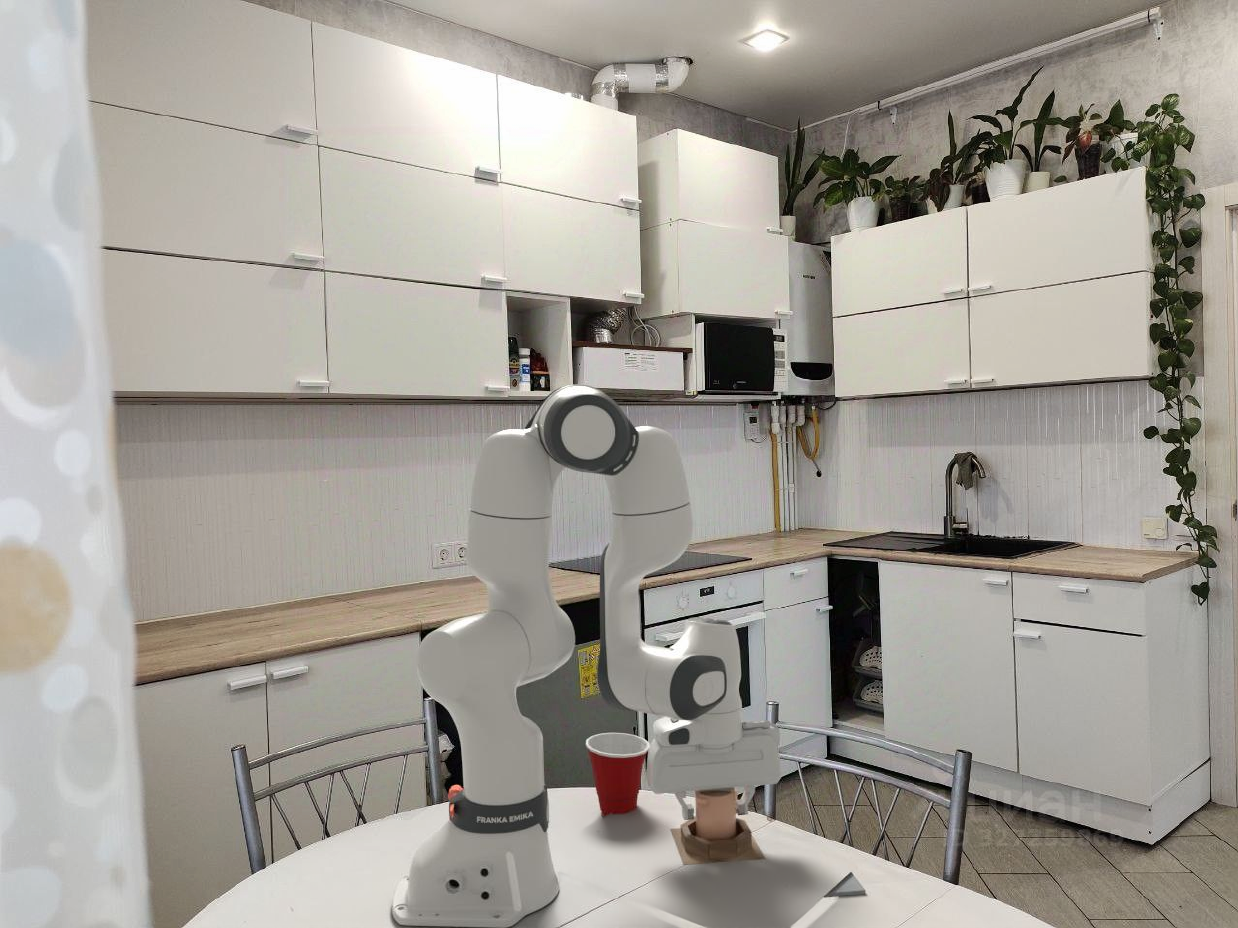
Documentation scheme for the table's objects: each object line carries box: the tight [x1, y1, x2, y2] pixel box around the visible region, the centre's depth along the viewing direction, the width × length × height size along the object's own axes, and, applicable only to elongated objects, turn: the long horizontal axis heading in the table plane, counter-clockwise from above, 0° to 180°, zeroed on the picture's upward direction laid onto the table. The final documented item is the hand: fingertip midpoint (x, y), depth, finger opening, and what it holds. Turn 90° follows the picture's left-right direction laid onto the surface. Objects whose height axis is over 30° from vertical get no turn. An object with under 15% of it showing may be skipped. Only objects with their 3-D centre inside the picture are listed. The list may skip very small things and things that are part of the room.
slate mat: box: [823, 871, 866, 898], centre depth 122 cm, size 10×10×1 cm
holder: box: [670, 815, 766, 866], centre depth 132 cm, size 12×12×3 cm
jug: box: [694, 787, 739, 841], centre depth 132 cm, size 9×6×8 cm, turn 141°
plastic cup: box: [585, 732, 651, 817], centre depth 146 cm, size 11×11×12 cm
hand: (715, 815), depth 132 cm, fingers open, 7 cm apart
